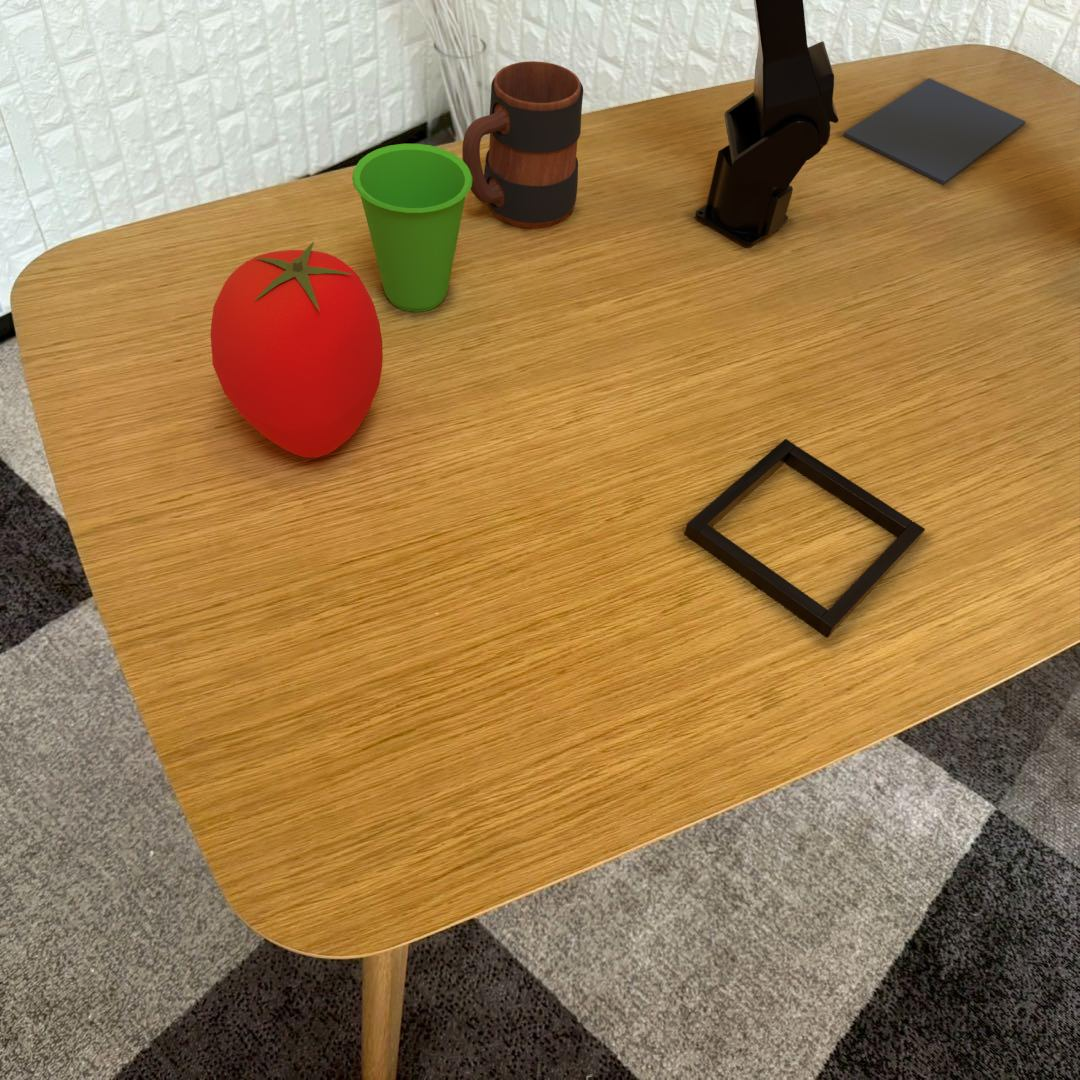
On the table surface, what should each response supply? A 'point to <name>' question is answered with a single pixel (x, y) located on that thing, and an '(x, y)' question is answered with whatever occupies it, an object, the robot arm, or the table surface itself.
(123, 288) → the table surface
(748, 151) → the robot arm
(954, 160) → the table mat
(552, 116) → the mug
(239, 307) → the tomato
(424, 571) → the table surface
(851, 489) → the black square frame
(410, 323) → the table surface
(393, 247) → the cup
